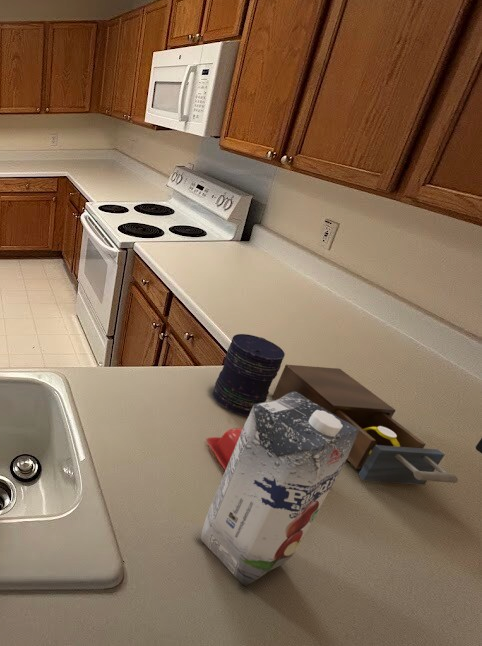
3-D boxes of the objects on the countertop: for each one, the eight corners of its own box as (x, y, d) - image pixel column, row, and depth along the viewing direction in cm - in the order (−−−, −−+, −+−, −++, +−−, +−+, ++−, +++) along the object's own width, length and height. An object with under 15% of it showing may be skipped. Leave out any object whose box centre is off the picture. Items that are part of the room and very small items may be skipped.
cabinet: (375, 445, 84) (396, 410, 81) (315, 441, 84) (333, 405, 80) (324, 400, 97) (339, 368, 93) (271, 396, 96) (285, 364, 93)
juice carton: (189, 536, 62) (248, 393, 52) (234, 514, 66) (297, 377, 56) (245, 598, 55) (326, 444, 45) (292, 568, 59) (375, 421, 49)
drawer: (453, 509, 70) (476, 478, 67) (388, 505, 69) (408, 473, 67) (364, 433, 86) (380, 405, 83) (311, 429, 86) (325, 401, 83)
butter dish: (233, 492, 70) (250, 455, 67) (201, 441, 81) (214, 407, 78) (300, 498, 70) (319, 461, 67) (259, 446, 81) (274, 412, 78)
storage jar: (214, 382, 100) (237, 317, 93) (261, 399, 95) (289, 332, 88) (209, 403, 92) (234, 334, 85) (260, 423, 87) (291, 352, 80)
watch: (349, 444, 81) (362, 420, 79) (358, 441, 82) (372, 418, 79) (385, 468, 76) (400, 444, 73) (395, 465, 76) (410, 441, 74)
